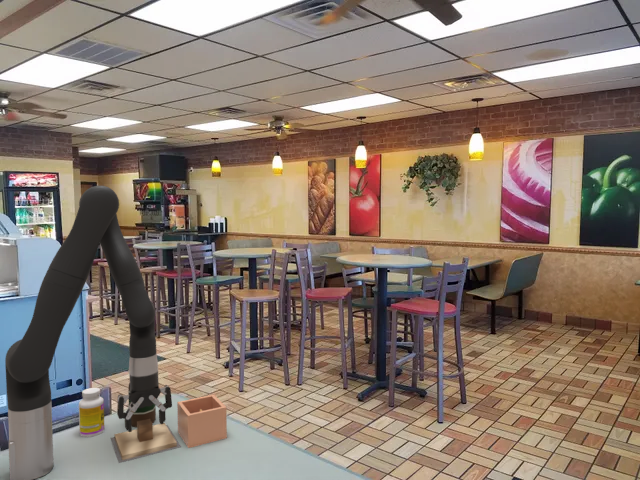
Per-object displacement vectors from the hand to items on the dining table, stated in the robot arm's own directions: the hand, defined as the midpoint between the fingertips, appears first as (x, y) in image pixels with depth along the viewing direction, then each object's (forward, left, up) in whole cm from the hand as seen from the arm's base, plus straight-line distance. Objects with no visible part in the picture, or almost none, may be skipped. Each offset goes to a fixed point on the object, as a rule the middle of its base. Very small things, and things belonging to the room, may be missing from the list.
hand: (145, 427), depth 132 cm
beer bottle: (+2, +14, -5) cm, 15 cm away
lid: (0, 0, -4) cm, 4 cm away
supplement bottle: (-12, +15, -5) cm, 20 cm away
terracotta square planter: (+15, -4, -5) cm, 16 cm away
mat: (0, 0, -5) cm, 5 cm away
